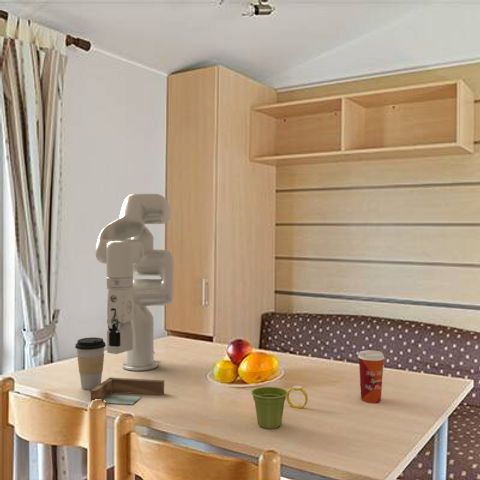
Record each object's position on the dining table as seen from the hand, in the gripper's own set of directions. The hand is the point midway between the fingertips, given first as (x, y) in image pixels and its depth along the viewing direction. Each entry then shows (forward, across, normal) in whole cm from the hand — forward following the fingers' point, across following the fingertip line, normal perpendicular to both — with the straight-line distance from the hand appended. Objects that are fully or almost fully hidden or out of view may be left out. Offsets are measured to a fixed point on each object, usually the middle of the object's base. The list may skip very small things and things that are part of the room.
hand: (120, 342), depth 165 cm
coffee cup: (+17, +11, +14) cm, 25 cm away
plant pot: (+17, -12, -46) cm, 50 cm away
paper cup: (+17, +13, -72) cm, 76 cm away
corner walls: (+17, +2, -2) cm, 17 cm away
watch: (+17, +3, -52) cm, 54 cm away
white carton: (+3, 0, 0) cm, 3 cm away
